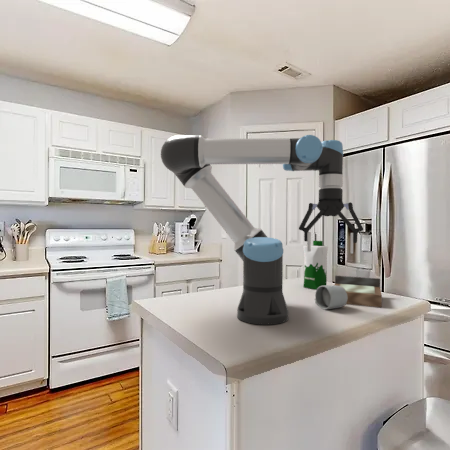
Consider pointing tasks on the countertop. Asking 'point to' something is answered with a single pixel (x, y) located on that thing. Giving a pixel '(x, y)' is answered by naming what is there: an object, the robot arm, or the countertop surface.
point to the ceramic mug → (331, 297)
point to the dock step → (361, 290)
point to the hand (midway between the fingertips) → (329, 252)
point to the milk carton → (315, 265)
